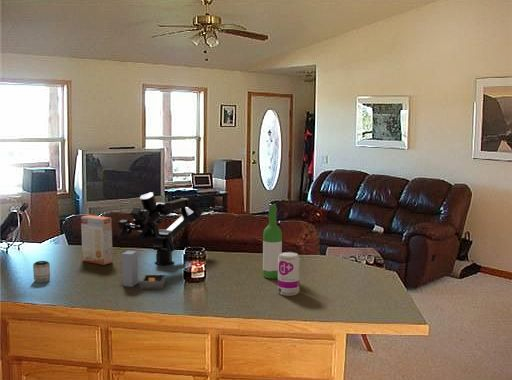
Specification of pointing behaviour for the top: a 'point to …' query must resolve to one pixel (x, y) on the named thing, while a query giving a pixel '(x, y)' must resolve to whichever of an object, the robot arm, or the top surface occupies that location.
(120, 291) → the top surface
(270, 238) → the wine bottle
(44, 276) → the camera lens
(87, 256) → the cracker box
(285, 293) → the supplement can
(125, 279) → the grey rectangular prism
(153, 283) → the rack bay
